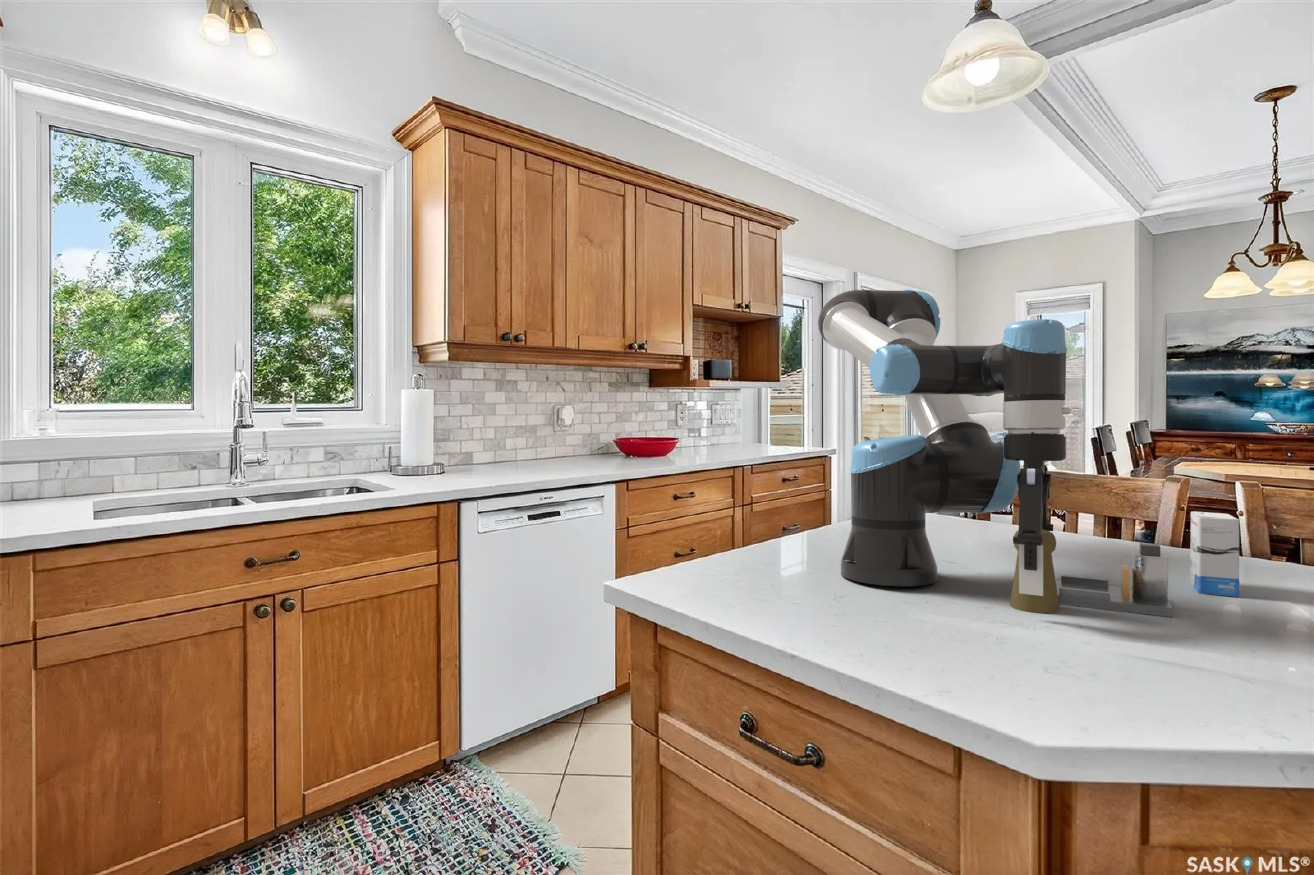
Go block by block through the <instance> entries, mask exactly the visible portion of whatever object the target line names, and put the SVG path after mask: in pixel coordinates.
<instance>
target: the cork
mask: <svg viewBox="0 0 1314 875" xmlns="http://www.w3.org/2000/svg"><path fill="white" fill-rule="evenodd" d="M1018 534H1019V529H1018V530H1016V531H1015V533H1014V534H1013V537H1017V535H1018ZM1042 539H1043V543H1042V544H1041V545H1043V596H1038V595H1030V594H1021V593H1019V544H1013V547H1014V548H1015V549H1016V551H1017V555H1016V561H1015V562H1016V563H1015V568H1014V569H1015V570H1014V576H1013V582H1012V588H1011V590H1012V591H1011V595H1010V603H1009V606H1010V607H1011V608H1014V609H1015V610H1018V611H1023V612H1027V613H1028V612H1029V613H1033V614H1034V613H1035V614H1057V613H1060V611H1061V608H1060V604H1059V600H1058V594H1057V587H1056V581H1057V580H1056V575H1055V574H1056V573H1055V568H1054V567H1055V566H1054V562H1053V561H1054V560H1053V555H1052V554H1053V553H1054V551H1055V550H1056V548H1057V538H1056V536H1055V534H1054V533H1053V532H1052V531H1047V530H1043V529H1042ZM1055 580H1056V581H1055Z"/></svg>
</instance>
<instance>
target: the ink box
mask: <svg viewBox="0 0 1314 875" xmlns="http://www.w3.org/2000/svg"><path fill="white" fill-rule="evenodd" d="M1189 543H1190V546H1189V547H1190V548H1189V549H1190V550H1189V563H1190V564H1189V581H1190V582H1191V583H1190V584H1192V586H1193V587H1194V589H1195V590H1196V591H1197V592H1198V594H1202V593H1203V594H1204V595H1213V596H1221V597H1222V596H1223V597H1224V596H1225V597H1234V598H1239V597H1240V519H1239V518H1236V517H1234V516H1233V515H1231V514H1229V513H1221V512H1209V511H1208V512H1206V511H1205V512H1204V511H1195V510H1194V511H1190V542H1189ZM1203 594H1202V595H1203Z"/></svg>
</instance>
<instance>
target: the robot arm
mask: <svg viewBox="0 0 1314 875" xmlns="http://www.w3.org/2000/svg"><path fill="white" fill-rule="evenodd" d="M940 313H941V312H940V309H939V305H938V303H937V302H936V300H935V298H934V297H933V296H932V295H931V294H930V293H928V292H926V291H923V290H922V291H920V290H914V289H903V290H883V289H882V290H879V289H878V290H876V289H874V290H873V289H872V290H871V289H866V290H865V289H852V290H848V291H844V292H841V293H839V294H837V295H835V296H834V297H832V298H830V300H828V301H827V302H826V303H825V304H824V306H823V308H822V309H821V310H820V313H819V315H818V320H817V321H818V322H817V326H818V330H819V334H820V335H821V337H822V339H823V340H824V341H825V342H826V343H827V344H828V345H830V346H831V347H832V348H835V349H837V350H840V351H841V350H842V351H846V352H848V354H850V355H852V356H853V357H854V358H856V359H857V360H858V361H859V362H861V363H863V365H865V366H866V367H867V368H868V369H869V376H870V377H869V378H870V380H871V382H872V387H873V388H874V390H875V391H876V392H877V393H880V394H883V395H885V394H886V395H894V396H904V398H905V400H906V402H907V405H908V407H909V410H910V412H911V414H912V417H913V420H914V421H915V424H916V426H917V428H918V431H919V434H913V435H911V434H909V435H901V436H889V437H881V438H876V439H869V440H864V441H860V442H858V443H856V444H855V445H854V446H853V449H852V451H851V461H850V462H851V463H850V464H851V465H850V468H849V473H850V481H851V482H850V485H851V486H850V487H851V489H850V490H851V492H850V494H851V495H850V496H851V498H850V500H851V503H850V504H851V506H850V508H851V510H850V513H851V514H850V515H851V528H850V533H849V535H848V539H847V542H846V545H845V547H844V550H843V554H842V556H841V560H840V575H841V576H842V577H843V578H845V579H847V580H851V581H855V582H858V583H864V584H869V585H878V586H885V587H887V586H888V587H889V586H891V587H918V586H927V585H932V584H935V583H937V581H938V565H937V562H936V559H935V556H934V553H933V551H932V547H931V545H930V541H929V539H928V535H927V531H926V530H927V528H926V514H934V513H935V514H943V513H944V514H945V513H947V514H948V513H949V514H950V513H952V514H955V513H957V514H958V513H961V514H962V513H965V514H966V513H968V514H969V513H970V514H971V513H972V514H973V513H977V514H978V515H979V514H980V515H981V514H984V513H992V512H994V513H995V512H1001V511H1002V510H1005V509H1006V508H1008V507H1009V506H1010V505H1011V504H1012V502H1013V501H1014V500H1015V497H1016V495H1017V497H1018V502H1019V510H1018V514H1019V515H1018V516H1019V517H1018V530H1019V534H1018V535H1017V537H1014V536H1013V537H1012V544H1013V545H1014V544H1019V593H1021V594H1030V595H1038V596H1043V545H1041V544H1042V543H1043V539H1042V529H1043V530H1047V531H1050V532H1054V524H1053V523H1050V520H1049V518H1048V514H1049V511H1048V502H1049V501H1048V500H1049V499H1050V495H1051V494H1050V493H1051V492H1050V491H1051V486H1052V473H1047V472H1048V470H1049V468H1048V466H1047V464H1045V462H1060V461H1061V462H1062V461H1064V460H1065V459H1066V457H1067V436H1065V434H1064V433H1061V430H1064V429H1065V428H1066V417H1065V416H1066V415H1070V414H1071V413H1072V410H1071V407H1067V406H1066V407H1064V406H1065V405H1066V395H1067V394H1066V393H1067V392H1066V391H1067V390H1066V387H1067V386H1066V384H1067V382H1066V381H1067V377H1066V376H1067V375H1066V374H1067V352H1068V347H1067V346H1066V333H1065V326H1064V324H1063V323H1062V322H1061V321H1059V320H1056V319H1047V318H1046V319H1042V318H1041V319H1039V318H1038V319H1027V320H1019V321H1015V322H1011V323H1009V324H1007V325H1006V326H1005V327H1004V330H1003V338H1002V340H1001V341H1002V342H1001V343H997V344H992V345H991V344H990V345H934V343H935V342H936V339H937V337H938V336H939V332H940V329H941V317H939V315H940ZM997 394H998V395H999V394H1003V402H1002V408H1003V409H1002V413H1003V415H1002V417H1003V418H1002V424H1003V425H1002V426H1003V427H1002V428H1003V429H1004V431H1007V434H1005V436H1003V441H997V442H994V441H993V440H992V437H991V436H990V434H989V433H988V430H987V428H986V427H985V426H984V425H983V424H981V423H980V422H977V421H972V420H971V418H970V415H969V413H968V411H967V409H966V407H965V406H964V403H963V402H962V400H961V397H960V396H959V395H968V396H969V395H970V396H975V397H983V396H984V397H991V396H993V395H997ZM1064 415H1065V416H1064ZM1021 461H1023V468H1022V467H1021Z"/></svg>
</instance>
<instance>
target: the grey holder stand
mask: <svg viewBox="0 0 1314 875" xmlns="http://www.w3.org/2000/svg"><path fill="white" fill-rule="evenodd" d="M1131 557H1132V558H1131V559H1132V560H1131V564H1132V565H1131V568H1132V569H1131V572H1132V573H1131V572H1130V567H1129V564H1127V563H1126V564H1125V563H1124V564H1123V563H1120V566H1121V567H1120V585H1121V586H1113V585H1109V579H1105V578H1096V577H1085V576H1076V575H1075V576H1074V575H1068V574H1067V575H1065V574H1061V575H1060V577H1061V578H1060V580H1056V579H1055V581H1056V587H1057V594H1058V600H1059V605H1066V606H1072V607H1073V606H1075V607H1082V608H1090V609H1098V610H1106V611H1115V612H1116V611H1117V612H1125V613H1132V614H1141V615H1150V616H1158V617H1165V618H1166V617H1167V618H1173V606H1172V605H1171V603H1170V600H1169V556H1168V555H1166V554H1162V553H1161V545H1160V544H1158V543H1144V542H1143V543H1142V542H1139V551H1138V552H1137V551H1136V552H1132V553H1131ZM1130 573H1131V574H1132V575H1131V577H1132V578H1130ZM1130 579H1131V580H1132V581H1131V580H1130ZM1130 581H1131V582H1132V583H1130ZM1130 584H1131V585H1132V586H1130Z"/></svg>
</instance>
